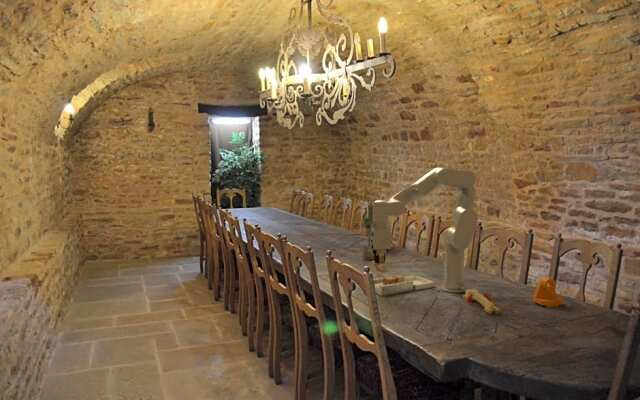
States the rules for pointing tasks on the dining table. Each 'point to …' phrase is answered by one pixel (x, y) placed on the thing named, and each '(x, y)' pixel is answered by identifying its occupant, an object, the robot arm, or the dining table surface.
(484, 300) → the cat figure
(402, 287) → the channel
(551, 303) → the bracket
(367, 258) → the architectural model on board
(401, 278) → the chip
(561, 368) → the dining table surface
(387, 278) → the chip
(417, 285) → the tray
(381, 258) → the scraper
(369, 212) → the religious sculpture
